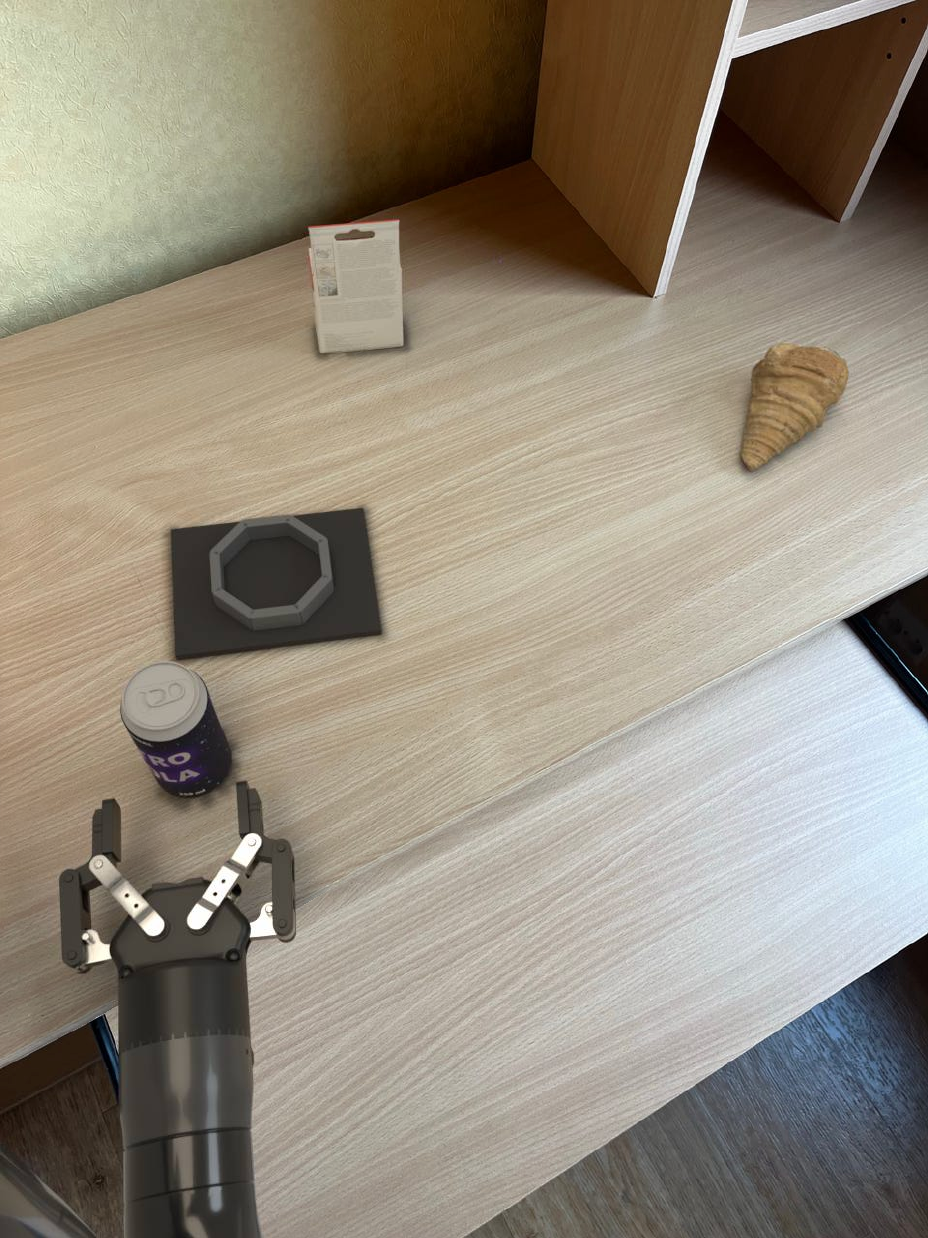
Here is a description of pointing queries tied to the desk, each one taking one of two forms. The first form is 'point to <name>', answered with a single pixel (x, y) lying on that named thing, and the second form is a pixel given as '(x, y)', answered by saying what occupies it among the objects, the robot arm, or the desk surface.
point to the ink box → (357, 287)
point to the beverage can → (176, 728)
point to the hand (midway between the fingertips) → (177, 793)
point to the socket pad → (272, 583)
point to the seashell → (789, 398)
